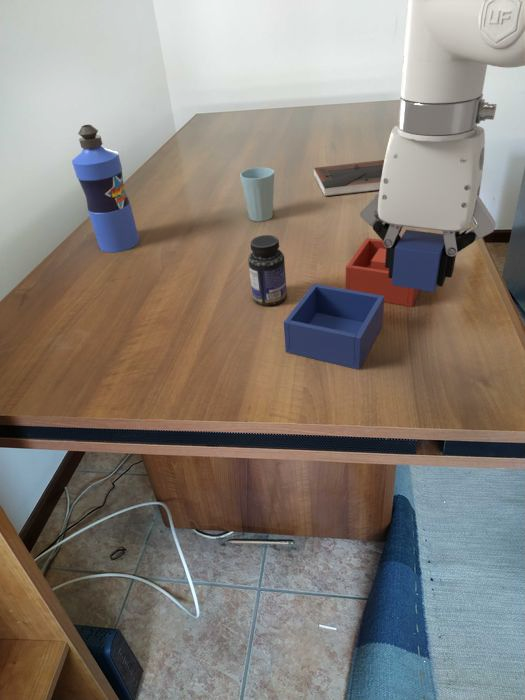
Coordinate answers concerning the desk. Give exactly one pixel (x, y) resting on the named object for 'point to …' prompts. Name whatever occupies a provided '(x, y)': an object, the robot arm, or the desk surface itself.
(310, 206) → the desk surface
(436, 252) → the blue block
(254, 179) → the cup
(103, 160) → the water bottle
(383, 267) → the red block
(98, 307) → the desk surface
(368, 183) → the hardcover book
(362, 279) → the red bin
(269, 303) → the pill bottle
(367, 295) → the blue bin
